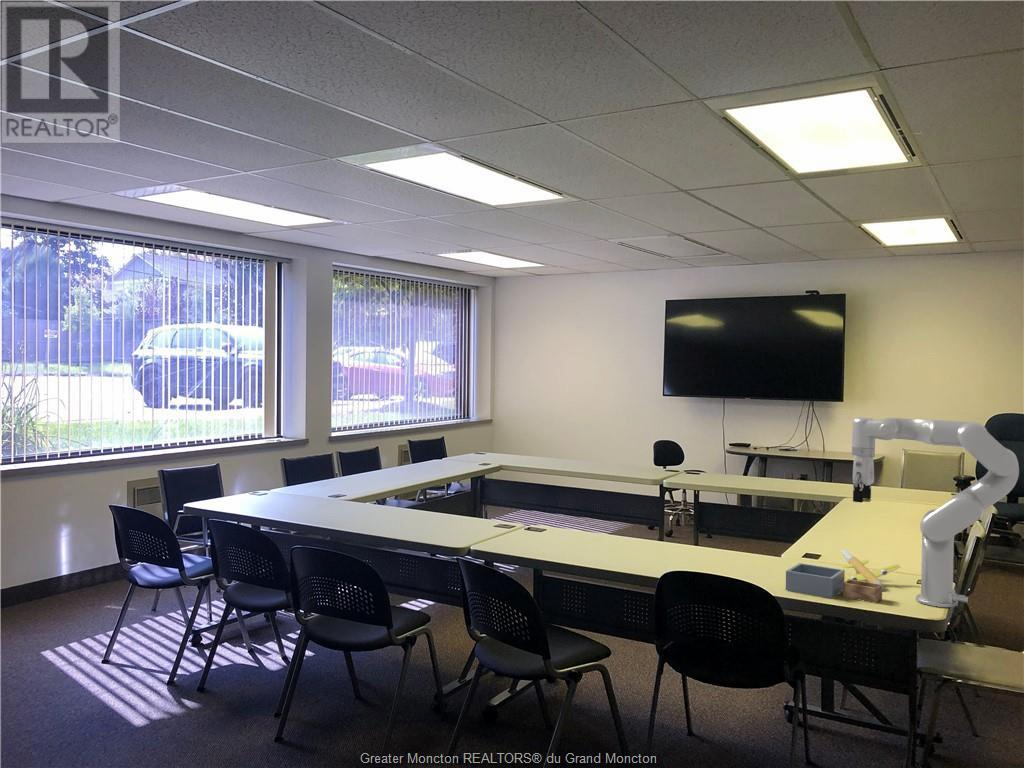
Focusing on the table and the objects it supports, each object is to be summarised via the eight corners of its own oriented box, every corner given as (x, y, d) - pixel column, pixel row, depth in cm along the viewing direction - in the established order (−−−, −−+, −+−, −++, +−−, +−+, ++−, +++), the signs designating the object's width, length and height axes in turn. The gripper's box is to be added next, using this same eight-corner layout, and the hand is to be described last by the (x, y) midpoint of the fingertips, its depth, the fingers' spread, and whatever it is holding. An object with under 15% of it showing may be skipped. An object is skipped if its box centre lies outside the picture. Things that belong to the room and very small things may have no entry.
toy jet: (918, 593, 279) (874, 553, 308) (916, 576, 277) (872, 537, 306) (849, 611, 279) (811, 570, 308) (846, 594, 277) (809, 554, 306)
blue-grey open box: (844, 589, 280) (844, 570, 279) (832, 598, 268) (832, 578, 268) (799, 581, 289) (799, 563, 289) (785, 590, 278) (785, 570, 278)
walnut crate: (881, 599, 268) (882, 584, 268) (877, 603, 263) (877, 588, 263) (848, 593, 275) (848, 579, 275) (843, 597, 270) (843, 583, 269)
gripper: (867, 455, 267) (866, 504, 268) (881, 451, 281) (879, 498, 281) (844, 453, 272) (843, 502, 272) (859, 449, 285) (858, 496, 286)
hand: (861, 500), depth 277 cm, fingers open, 9 cm apart
